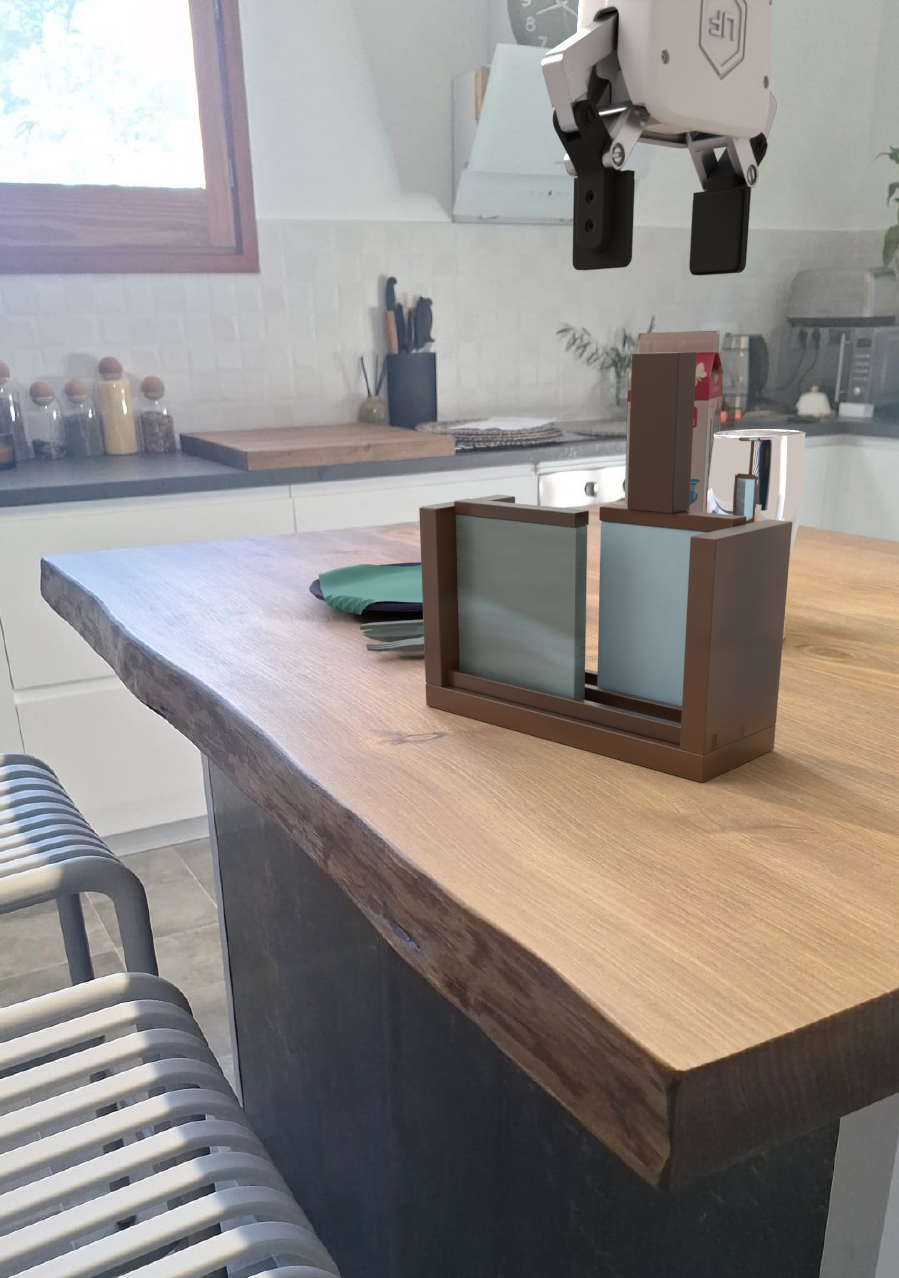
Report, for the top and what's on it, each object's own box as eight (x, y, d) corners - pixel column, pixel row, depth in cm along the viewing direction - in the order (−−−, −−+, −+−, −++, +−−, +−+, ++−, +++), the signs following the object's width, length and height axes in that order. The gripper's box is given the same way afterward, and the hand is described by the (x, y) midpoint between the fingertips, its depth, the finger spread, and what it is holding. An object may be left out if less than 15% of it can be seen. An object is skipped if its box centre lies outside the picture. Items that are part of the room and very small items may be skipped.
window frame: (500, 682, 78) (498, 489, 73) (774, 749, 63) (793, 515, 59) (425, 705, 73) (418, 501, 68) (702, 783, 59) (716, 532, 54)
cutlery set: (507, 576, 113) (507, 553, 112) (584, 648, 86) (585, 618, 85) (307, 587, 111) (305, 563, 110) (319, 665, 83) (317, 634, 82)
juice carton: (638, 589, 106) (646, 333, 97) (710, 592, 103) (725, 330, 95) (621, 603, 100) (629, 333, 92) (697, 607, 98) (712, 330, 89)
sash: (610, 685, 69) (618, 353, 62) (735, 714, 63) (760, 350, 56) (593, 691, 68) (599, 354, 61) (719, 720, 62) (742, 351, 55)
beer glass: (679, 637, 88) (689, 434, 82) (733, 622, 92) (746, 427, 87) (756, 652, 83) (772, 437, 78) (809, 635, 87) (828, 430, 82)
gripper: (629, -235, 43) (614, 261, 50) (851, -122, 54) (816, 271, 61) (487, -172, 48) (490, 271, 55) (718, -80, 59) (698, 279, 66)
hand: (662, 271), depth 58 cm, fingers open, 9 cm apart
